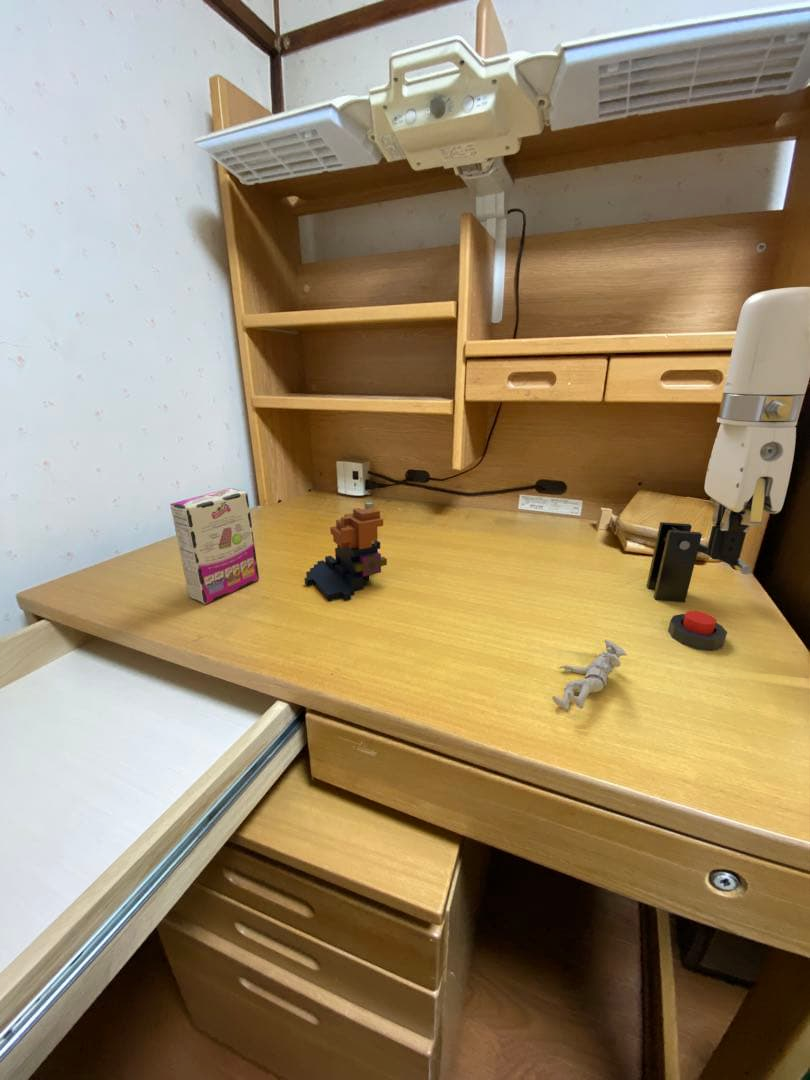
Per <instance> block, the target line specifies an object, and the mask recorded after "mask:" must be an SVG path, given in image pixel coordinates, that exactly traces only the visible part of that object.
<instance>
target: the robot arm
mask: <svg viewBox="0 0 810 1080" xmlns="http://www.w3.org/2000/svg"><path fill="white" fill-rule="evenodd" d="M809 381H810V286H793V287H792V286H791V287H783V288H774V289H768V290H763V291H759V292H756V293H754V294H752V295H751V296H749V297H748V298H747V299H746V300H745V301H744V303H743V304H742V306H741V309H740V313H739V317H738V321H737V326H736V331H735V334H734V339H733V345H732V349H731V354H730V358H729V362H728V367H727V372H726V377H725V381H724V386H723V390H722V394H721V395H722V396H721V399H720V405H719V409H718V410H719V411H718V414H717V418H716V423H720V425H719V428H718V430H717V434H716V437H715V439H714V443H713V447H712V451H711V454H710V456H709V457H710V458H709V461H708V465H707V469H706V474H705V479H704V492H705V494H707V496H708V497H710V498H709V499H710V502H711V504H712V505H713V513H712V518H711V523H712V525H711V531H710V533H709V534H710V535H709V539H708V543H707V551H706V553H707V554H708V555H707V556H708V557H710V559H712V560H717V561H721V560H734V561H736V560H738V559H739V558H741V553H742V550H743V545H744V541H745V538H746V534H747V533H748V532H749V531H750V528H751V527H752V526H753V527H760V526H761V525H762V523H763V515H764V512H766V513H769V514H773V515H776V514H779V513H780V512H781V511H782V509H783V506H784V503H785V499H786V496H787V492H788V487H789V483H790V478H791V473H792V469H793V468H792V467H793V463H794V456H795V449H796V439H797V427H796V426H797V425H798V420H799V418H800V414H801V410H802V406H803V404H804V403H803V402H804V400H805V394H806V392H807V389H808V386H809Z"/></svg>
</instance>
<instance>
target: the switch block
mask: <svg viewBox="0 0 810 1080" xmlns="http://www.w3.org/2000/svg"><path fill="white" fill-rule="evenodd" d="M685 614H686V613H680V614H676V615H675V614H674V615H673V616H672V618H671V619H670V620H669V625H668V629H667V632H668V634H669V635H670V636H671V638H672V639H673V640H674V641H676V642H678V643H679V644H681V645H682V646H686V647H689V648H692V649H695V650H698V651H707V652H714V651H718V650H722V649H723V647H724V644H725V642H726V639H727V635H728V631H727V630H726V629H725V627H724V626H723V625H721V624H720V623H718V622H716V624H715V628H714V631H713V633H712V634H710V635H707V634H699V633H696V632H692V631H690V630H688V629H687V628H685V627H684V626H683V621H684V617H685Z"/></svg>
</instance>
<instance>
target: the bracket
mask: <svg viewBox="0 0 810 1080" xmlns="http://www.w3.org/2000/svg"><path fill="white" fill-rule="evenodd" d="M671 527H674V528H676V529H679V530H681V531H674V530H670V528H671ZM667 533H668V534H667ZM666 534H667V538H666V542H665V541H664V540H663V539H664V537H665V536H666ZM702 536H703V534H702V533H701V532H700V531H692V524H690V523H683V522H680V523H679V522H667V521H666V522H665V521H660V522H659V527H658V531H657V535H656V539H655V543H654V549H653V554H652V559H651V563H650V567H649V572H648V577H647V582H646V588H647V590H654V593H653V599H654V601H661V602H673V603H686V600H687V595H688V592H689V588H690V584H691V581H692V576H693V572H694V569H695V564H696V560H697V556H698V552H699V551H698V549H699V545H700V544H701V540H702Z"/></svg>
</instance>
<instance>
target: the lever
mask: <svg viewBox="0 0 810 1080" xmlns="http://www.w3.org/2000/svg"><path fill="white" fill-rule="evenodd" d="M670 530H674V531H681V530H679V529H676V528H674V527H671V528H670ZM667 534H668V533H667ZM667 534H666V536H665V537H664V539H663V540H664V541H665V542H666V538H667ZM707 547H708V545H705V544H702V543H700V545H699V549H698V552H699V553H702V554H704V555H707V556H709V555H708V554H707V553H706V551H707ZM720 561H721V562H723V563H726V564H728V565H731V566H733V567H734V568H735V569H736V570H738V571H739V572H740V573H741V574H742V575H749V574H751V572H752V571H753V568H752V566H750V565H749V564H748V563H747V562H745V560H743V559H742V558H741V557H739V559H738V560H736V561H734V560H720Z"/></svg>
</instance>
